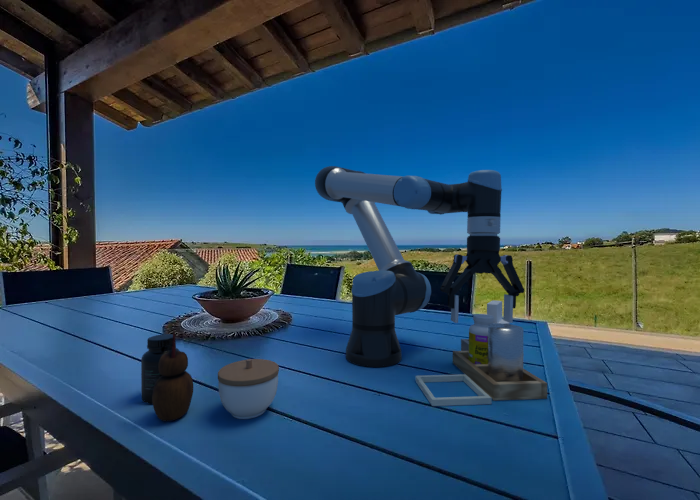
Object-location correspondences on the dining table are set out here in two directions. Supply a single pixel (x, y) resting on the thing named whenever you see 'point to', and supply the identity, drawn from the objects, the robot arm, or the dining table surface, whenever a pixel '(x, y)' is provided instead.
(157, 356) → the supplement bottle
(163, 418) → the wooden figurine
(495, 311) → the cylinder with rectangular tab
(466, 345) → the gray open box
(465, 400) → the rectangular frame
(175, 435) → the dining table surface
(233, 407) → the lidded jar
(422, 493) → the dining table surface
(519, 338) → the billet
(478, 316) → the supplement bottle
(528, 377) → the wooden tray
